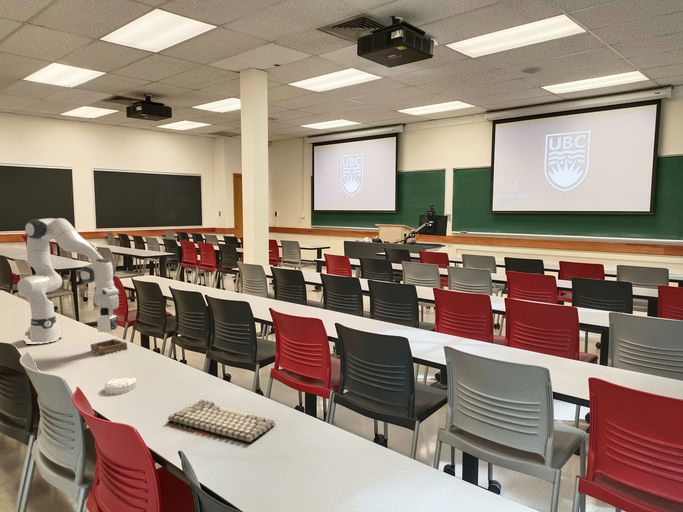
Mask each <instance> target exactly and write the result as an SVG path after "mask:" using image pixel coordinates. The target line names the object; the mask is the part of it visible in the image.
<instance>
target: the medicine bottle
mask: <svg viewBox="0 0 683 512" xmlns="http://www.w3.org/2000/svg"><path fill="white" fill-rule="evenodd" d="M99 312H100V317H98V318H97V319H96V321H97V324H96V325H97V332H99V333H100V332H101V333H103V332H105V333H106V332H114V331H115V330H117V329H118V317H117V315H114V312H113V313H112V314H113V316H108V313H109V310H108V308H105V307H104V308H102V309H101V310H100V309H99Z"/></svg>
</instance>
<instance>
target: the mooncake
mask: <svg viewBox="0 0 683 512" xmlns="http://www.w3.org/2000/svg"><path fill="white" fill-rule="evenodd" d="M136 388H137V379H136V378H135V377H133V376H132V377H131V376H121V377H115V378H112V379H111V380H108V381H106V383H104V389H105V393H107V394H110V395H117V394H118V395H119V394H124V393H129V392H131V391H133V390H135V389H136Z"/></svg>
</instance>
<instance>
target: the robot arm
mask: <svg viewBox="0 0 683 512" xmlns="http://www.w3.org/2000/svg"><path fill="white" fill-rule="evenodd" d="M24 232H25V234H26V236H27V238H26V257H27V259H26V260H27V264H28V266H29V267H31V268H33V270H34V271H35V274H33V275H28V276H25V277H23V278H21V279H19V280H18V282H17V284H16V285H17V286H16V287H17V291H18V293H19V294H21V295H22V296H24V298H26V299H27V301H28V303H29V306H30V307H29V308H30V314H31V318H30V326H29V327H28V329H27V331H24V336H25V337H28V339H30V340H31V342H47V341H52V340H55V339H58V338H59V337H60V336H61V330H60V325H59V324H58V323H57V318H56V315H55V303H54V302H53V301H52V300H50V299H49V298H48V297H47V294H46V293H50V292H53V291H55V290H58V289H59V288H61V286H62V285H63V278H62V276H61V275H60V274H59V273H57V272H56V271H55V269H54V267H53V264H52V261H51V260H52V257H51V245H50V241H51V240H52V239H54V240H55V242H56V243H57V244H58V246H59V248H61V249H62V250H63V251H65V252H69V253H75V254H80V255H84V256H86V257H87V258H88V259H89V260H90V261H91V262H92V263H90V264H88V265H85V266H82V267H81V268H80V271H79V277H80V280H81V281H82V282H83V283H84V284H92V283H94V284H95V286H94V287H95V292H94V293H93V294H94V295H93V303H94V306H97V307H98V308H99V311H100V310H101V309H102V308H108V310H109V313H108V316H114V310H117V309H118V308H119V305H120V302H119V293H120V291H119V288H117V287H116V286H115V281H114V277H115V275H116V269H115V268H116V267H114V265H113V263H112V261H111V260H110V259H106V258H105V257H104V256H103V255H102V254H101V252H100V251H99V250H98V249H97V248H96V247H95V246H94V245H93V244H92V243H91V242H89V241H88V240H86V239H84V237H82V235H80V234H79V232H78V231H77V230H76V229H75V227H74V226H73V225H72V223H70V221H68V220H67V219H66V218H62V217H58V218H50V217H46V218H40V219H31V220H28V221H27V222H26V224H25V225H24ZM112 313H113V314H112Z"/></svg>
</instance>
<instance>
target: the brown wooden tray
mask: <svg viewBox="0 0 683 512" xmlns="http://www.w3.org/2000/svg"><path fill="white" fill-rule="evenodd" d="M90 350H92V351H91V352H93V351H95V352H97V353H96V354H98V353H99V354H98V355H100V354H101V356H106V355H105V354H107V355H110V354H109V353H111V354H114V353H113V352H115V353H117V351H119V352H122V351H121V350H123V351H126V350H128V343H127V342H126V341H123V340H119V339H117V338H113V339H108V340H104V341H103V340H102V341H99V342H94V343H91V344H90ZM95 352H94V353H95Z"/></svg>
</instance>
